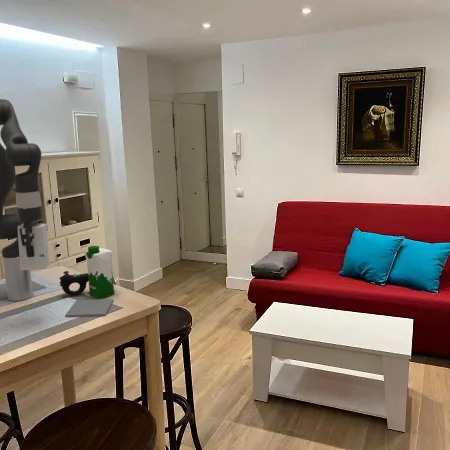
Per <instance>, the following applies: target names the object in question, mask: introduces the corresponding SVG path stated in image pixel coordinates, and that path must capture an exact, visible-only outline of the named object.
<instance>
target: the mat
mask: <svg viewBox="0 0 450 450" xmlns="http://www.w3.org/2000/svg"><path fill="white" fill-rule="evenodd" d="M114 301H115V300H114V298H110V299H109V298H102V299H97V298H95V299H76V300H75V302H74V303H73V304H72V305H71V306H70V307H69V309H68V311H67V312H66V313H65V315H64V317H65V318H81V317H82V318H83V317H106V316H107V314H108V313H109V310H110V309H111V307H112V304H113V303H114Z"/></svg>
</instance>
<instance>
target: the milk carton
mask: <svg viewBox="0 0 450 450" xmlns="http://www.w3.org/2000/svg"><path fill="white" fill-rule="evenodd" d="M84 256H85V259H86V265H87V273H88V279H89V281H88V293H89V296H91V297H93V298H95V299H106V297H110V296H113V295H115V286H114V274H113V273H114V272H113V262H112V261H113V250H110V249H108V248H104V247H99V245H90V246H88V247H87V250H86V251H84Z"/></svg>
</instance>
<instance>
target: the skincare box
mask: <svg viewBox="0 0 450 450" xmlns="http://www.w3.org/2000/svg"><path fill="white" fill-rule="evenodd" d="M20 228H24V224H21V225H20V226H18V242H19V257H20V269H21V270H30V271H33V270H45V269H47V268H48V267H49V265H50V259H49V258H50V257H49V244H48V243H49V242H48V241H49V239H48V225H47V223H42V224H35V225H34V226H32V233H31V234H30V236H32V235H33V233H34V235H35V239H34V240H33V247H34V257H27V253H26V246H22V242H21V236H20ZM30 240H31V239H30ZM24 241H25V239H24ZM27 242H28V240H27Z"/></svg>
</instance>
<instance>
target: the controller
mask: <svg viewBox="0 0 450 450" xmlns="http://www.w3.org/2000/svg"><path fill="white" fill-rule="evenodd" d="M69 273H70V272H69V271H68V270H65V271H63V274H64V275H62V276H59V280H60V281H59V286H60V287H61V288H62V290H63V292H64V293H65V294H67V295H68V296H73V297H75V296H76V297H77V296H79V295H82V294H83V292H84V291H85V290H86V288H87V283H89V279H88V272H87V273H80V274H79V273H78V274H75V273H74V274H69ZM72 284H78V285H79V288H78V289H77V290H71V289H70V286H71V285H72Z"/></svg>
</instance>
